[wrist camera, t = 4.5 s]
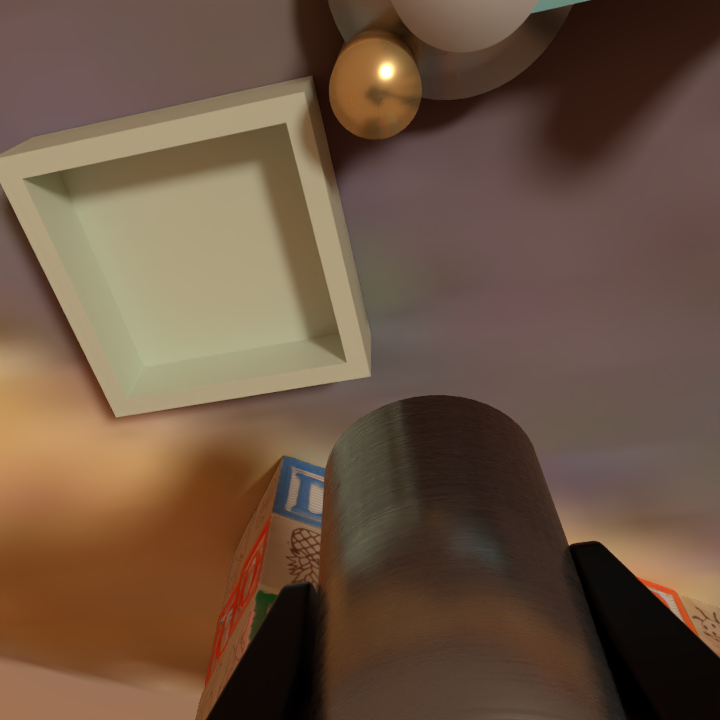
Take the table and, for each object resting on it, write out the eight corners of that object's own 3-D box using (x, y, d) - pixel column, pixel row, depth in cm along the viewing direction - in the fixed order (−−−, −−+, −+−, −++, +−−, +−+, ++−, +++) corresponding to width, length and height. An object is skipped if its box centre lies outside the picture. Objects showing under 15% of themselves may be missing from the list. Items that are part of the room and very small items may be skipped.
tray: (371, 335, 22) (370, 376, 20) (139, 374, 23) (116, 417, 21) (312, 75, 18) (303, 91, 16) (33, 137, 19) (-11, 160, 17)
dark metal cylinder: (543, 541, 12) (733, 1135, 6) (348, 568, 12) (342, 1154, 6) (531, 377, 10) (792, 1007, 4) (301, 415, 10) (228, 1045, 4)
